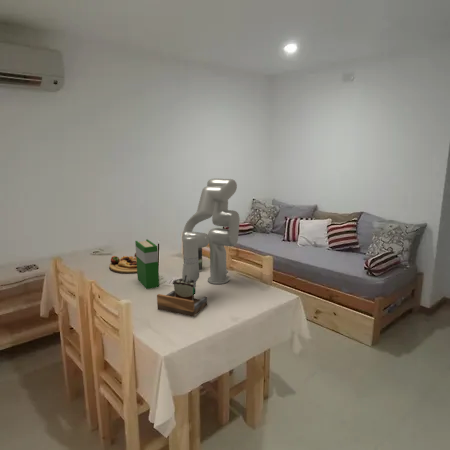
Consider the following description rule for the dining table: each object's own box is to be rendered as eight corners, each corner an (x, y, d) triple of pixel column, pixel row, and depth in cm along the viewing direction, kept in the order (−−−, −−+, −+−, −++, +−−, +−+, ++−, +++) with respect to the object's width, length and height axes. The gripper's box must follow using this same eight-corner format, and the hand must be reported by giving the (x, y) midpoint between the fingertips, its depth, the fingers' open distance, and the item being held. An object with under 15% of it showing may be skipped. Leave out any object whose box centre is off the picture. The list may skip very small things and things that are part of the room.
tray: (173, 298, 189) (172, 285, 188) (207, 305, 181) (206, 291, 179) (157, 309, 177) (156, 294, 175) (193, 316, 168) (192, 301, 167)
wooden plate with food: (100, 272, 231) (99, 260, 229) (122, 257, 261) (122, 246, 259) (147, 276, 225) (147, 264, 223) (165, 260, 255) (164, 249, 254)
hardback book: (137, 279, 217) (135, 240, 212) (149, 277, 221) (147, 239, 216) (146, 289, 202) (144, 247, 197) (159, 286, 206) (157, 246, 201)
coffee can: (200, 272, 228) (199, 251, 225) (184, 271, 231) (183, 250, 228) (204, 267, 238) (204, 246, 235) (189, 266, 240) (189, 246, 238)
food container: (200, 298, 183) (200, 279, 181) (194, 303, 177) (194, 284, 175) (179, 294, 187) (178, 276, 185) (173, 299, 182) (172, 280, 180)
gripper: (192, 255, 191) (193, 287, 194) (176, 263, 177) (178, 298, 181) (204, 256, 187) (205, 290, 191) (189, 265, 174) (190, 300, 178)
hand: (192, 293), depth 186 cm, fingers closed
